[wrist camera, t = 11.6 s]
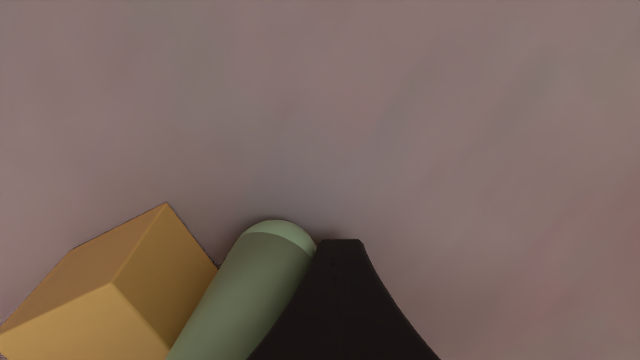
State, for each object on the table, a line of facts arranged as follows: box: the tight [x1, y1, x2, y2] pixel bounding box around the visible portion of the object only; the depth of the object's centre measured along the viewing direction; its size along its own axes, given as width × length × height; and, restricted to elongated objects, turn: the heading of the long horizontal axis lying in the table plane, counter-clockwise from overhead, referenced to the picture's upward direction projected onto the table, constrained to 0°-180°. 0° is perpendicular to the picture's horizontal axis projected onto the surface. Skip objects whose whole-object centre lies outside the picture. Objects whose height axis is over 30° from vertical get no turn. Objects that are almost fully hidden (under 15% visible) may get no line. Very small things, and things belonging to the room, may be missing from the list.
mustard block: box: [0, 203, 218, 360], centre depth 11 cm, size 3×6×3 cm, turn 28°
